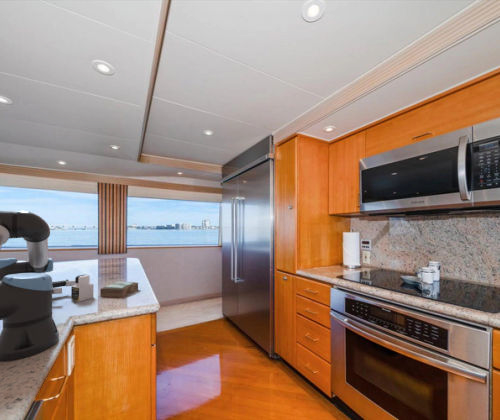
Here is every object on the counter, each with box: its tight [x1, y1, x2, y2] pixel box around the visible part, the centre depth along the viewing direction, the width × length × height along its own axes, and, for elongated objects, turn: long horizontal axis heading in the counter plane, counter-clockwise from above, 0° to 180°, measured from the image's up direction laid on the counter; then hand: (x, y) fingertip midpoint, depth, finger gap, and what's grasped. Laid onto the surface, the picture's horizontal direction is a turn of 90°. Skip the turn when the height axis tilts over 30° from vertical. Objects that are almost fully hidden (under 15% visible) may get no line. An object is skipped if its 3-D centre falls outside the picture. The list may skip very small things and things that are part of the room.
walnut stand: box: [100, 281, 139, 298], centre depth 131 cm, size 13×13×4 cm
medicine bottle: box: [70, 274, 94, 302], centre depth 122 cm, size 7×7×12 cm
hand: (70, 286), depth 122 cm, fingers open, 13 cm apart
